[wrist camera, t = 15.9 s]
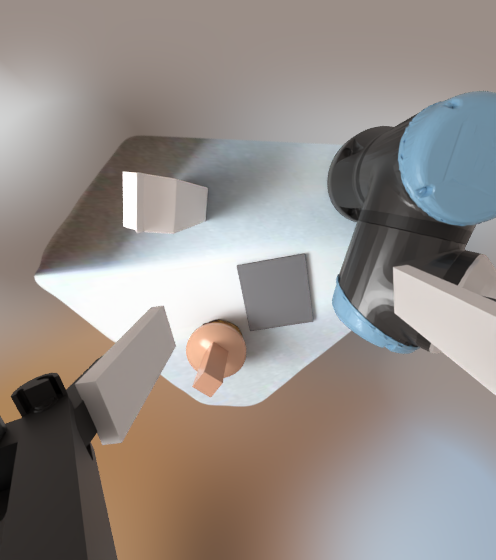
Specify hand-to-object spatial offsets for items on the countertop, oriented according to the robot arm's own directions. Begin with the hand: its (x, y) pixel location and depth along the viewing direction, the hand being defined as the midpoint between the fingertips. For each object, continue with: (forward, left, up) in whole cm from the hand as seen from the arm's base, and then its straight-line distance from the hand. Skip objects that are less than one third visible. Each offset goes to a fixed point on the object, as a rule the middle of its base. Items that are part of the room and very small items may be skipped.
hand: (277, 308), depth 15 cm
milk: (+12, -8, -35) cm, 38 cm away
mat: (0, +12, -35) cm, 37 cm away
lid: (+13, +20, -30) cm, 39 cm away
